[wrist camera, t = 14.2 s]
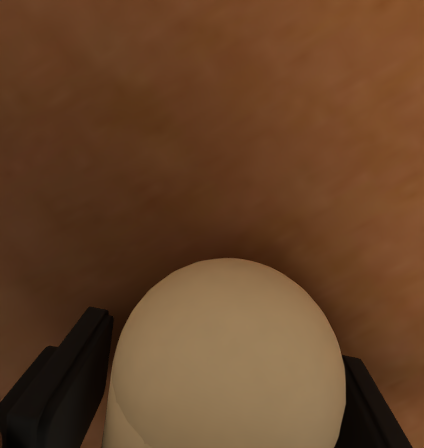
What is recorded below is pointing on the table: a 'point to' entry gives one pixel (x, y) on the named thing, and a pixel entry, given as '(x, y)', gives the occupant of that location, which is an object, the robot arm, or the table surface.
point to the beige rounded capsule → (226, 364)
